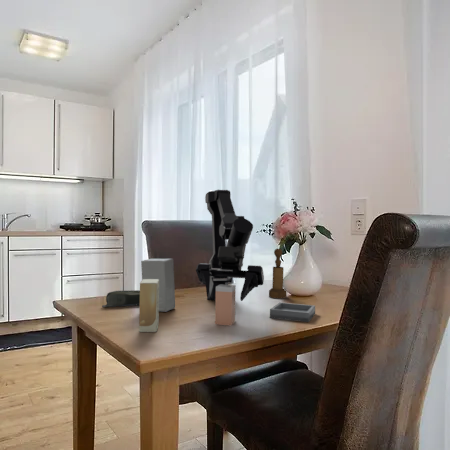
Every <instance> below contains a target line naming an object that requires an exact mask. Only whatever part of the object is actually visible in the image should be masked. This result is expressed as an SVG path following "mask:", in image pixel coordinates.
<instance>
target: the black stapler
mask: <svg viewBox="0 0 450 450" xmlns="http://www.w3.org/2000/svg"><path fill="white" fill-rule="evenodd" d="M105 298H106V299H105V301H106V304H104V305H102V306H101V307H102V308H113V307H114V308H116V306H119V307H132V306H140V289H139V290H135V289H134V290H133V289H131V290H114V291H109V292H108V293H107V294H106V297H105Z"/></svg>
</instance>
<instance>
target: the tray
mask: <svg viewBox="0 0 450 450" xmlns="http://www.w3.org/2000/svg"><path fill="white" fill-rule="evenodd" d="M315 315H316V305H314V304H313V305H311V304H302V303H291V302H290V303H289V302H282V301H281V302H278V303H277V304H275V305H274V306H273V307H271V308H270V309H269V318H270V319H276V320H285V321H296V322H305V323H309V322H310V321H312V318H313V317H314V316H315Z"/></svg>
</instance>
